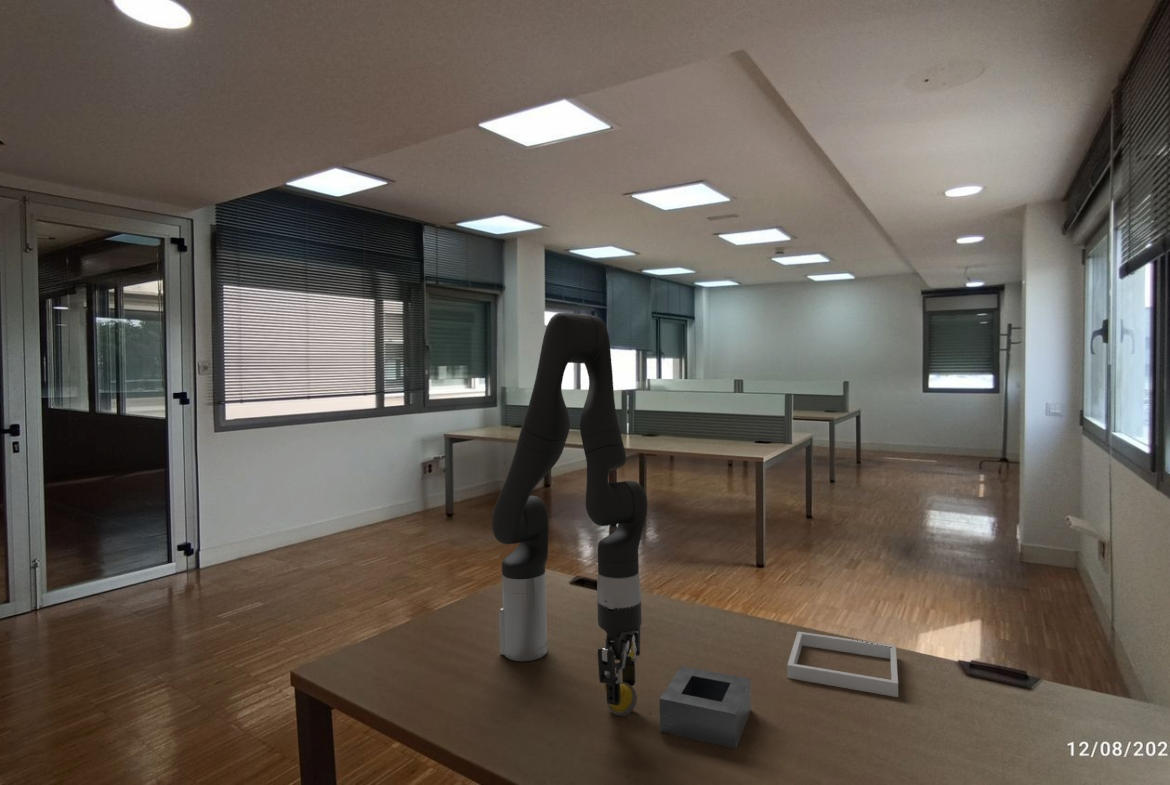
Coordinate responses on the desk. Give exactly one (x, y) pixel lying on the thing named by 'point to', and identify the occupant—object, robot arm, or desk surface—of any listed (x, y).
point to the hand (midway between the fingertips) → (621, 693)
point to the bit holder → (706, 706)
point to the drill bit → (624, 700)
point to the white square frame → (843, 678)
